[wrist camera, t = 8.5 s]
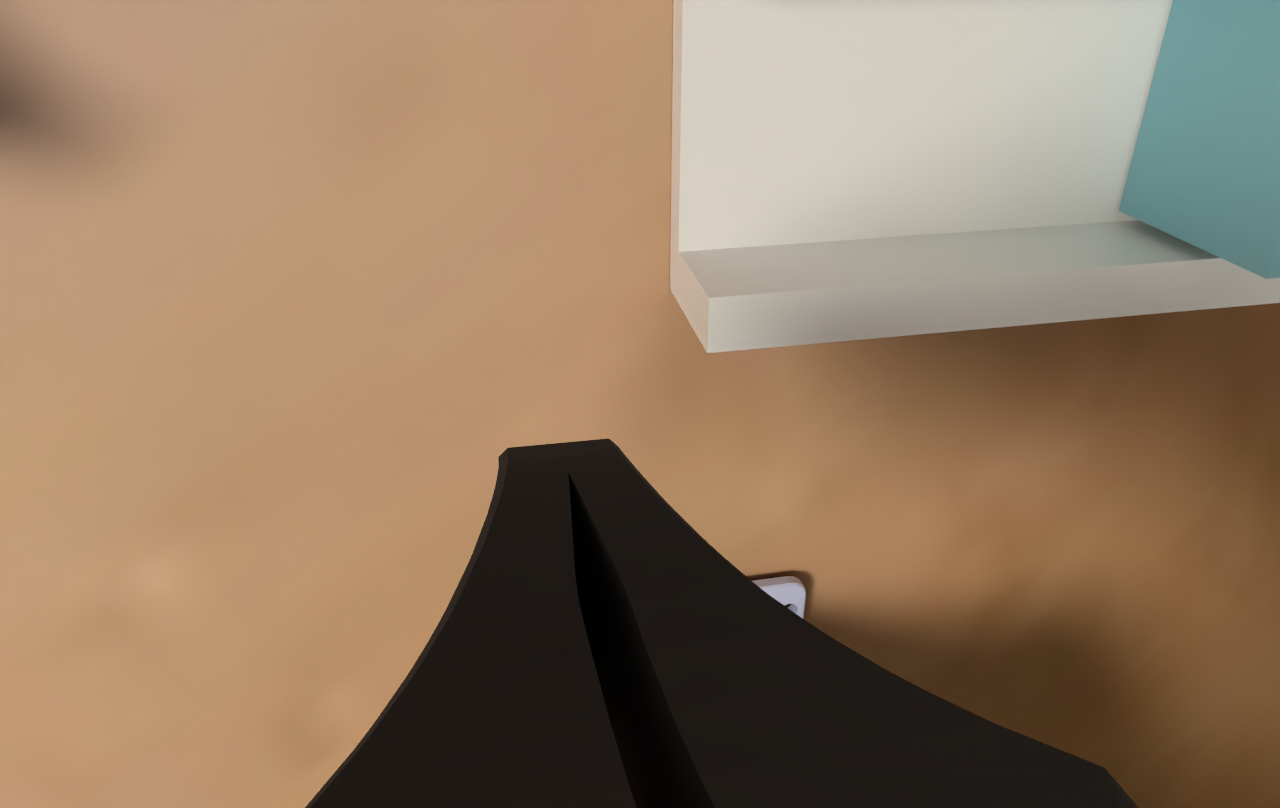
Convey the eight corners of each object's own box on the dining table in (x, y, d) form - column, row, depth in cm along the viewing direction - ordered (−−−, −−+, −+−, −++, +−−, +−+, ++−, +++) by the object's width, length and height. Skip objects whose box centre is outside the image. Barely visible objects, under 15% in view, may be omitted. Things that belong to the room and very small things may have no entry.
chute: (670, 289, 21) (707, 353, 18) (674, -101, 17) (723, -100, 14) (1392, 234, 25) (1525, 281, 22) (1533, -106, 21) (1719, -106, 18)
